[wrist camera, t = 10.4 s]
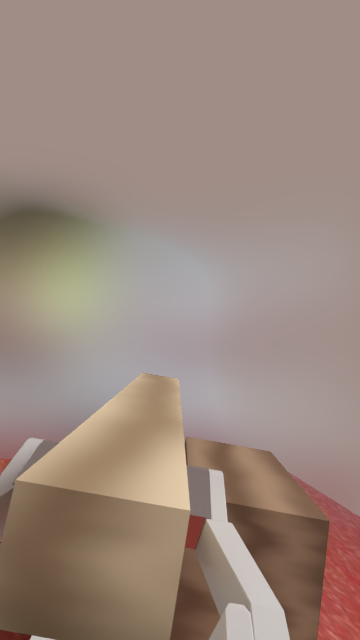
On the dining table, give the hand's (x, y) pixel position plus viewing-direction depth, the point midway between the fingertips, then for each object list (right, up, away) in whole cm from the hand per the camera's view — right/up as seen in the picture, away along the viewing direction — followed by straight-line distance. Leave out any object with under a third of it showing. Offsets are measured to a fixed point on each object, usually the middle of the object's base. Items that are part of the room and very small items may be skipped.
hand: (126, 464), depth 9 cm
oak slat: (0, -3, +7) cm, 7 cm away
